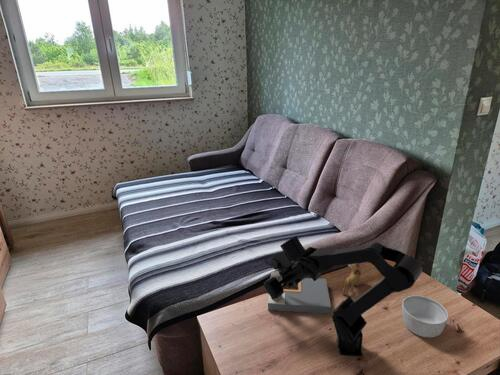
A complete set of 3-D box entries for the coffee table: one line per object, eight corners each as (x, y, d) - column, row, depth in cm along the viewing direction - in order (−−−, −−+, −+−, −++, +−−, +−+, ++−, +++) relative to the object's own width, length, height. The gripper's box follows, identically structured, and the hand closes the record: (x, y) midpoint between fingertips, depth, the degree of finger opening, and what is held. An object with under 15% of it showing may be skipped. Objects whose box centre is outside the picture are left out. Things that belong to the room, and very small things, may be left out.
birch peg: (282, 294, 113) (282, 271, 110) (282, 301, 110) (281, 277, 106) (271, 293, 114) (271, 270, 111) (270, 301, 110) (270, 277, 107)
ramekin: (449, 346, 93) (453, 328, 91) (401, 335, 98) (403, 318, 95) (440, 316, 105) (443, 299, 102) (397, 307, 109) (400, 291, 107)
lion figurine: (347, 276, 127) (349, 257, 124) (361, 279, 125) (362, 260, 122) (340, 298, 115) (342, 278, 112) (355, 302, 113) (357, 281, 110)
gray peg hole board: (325, 285, 123) (325, 278, 122) (330, 313, 108) (330, 306, 107) (270, 282, 125) (270, 275, 124) (268, 310, 110) (267, 302, 109)
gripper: (301, 239, 108) (277, 255, 119) (267, 261, 96) (243, 277, 107) (320, 266, 106) (293, 280, 117) (287, 293, 93) (261, 306, 104)
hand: (273, 285), depth 111 cm, fingers open, 9 cm apart
